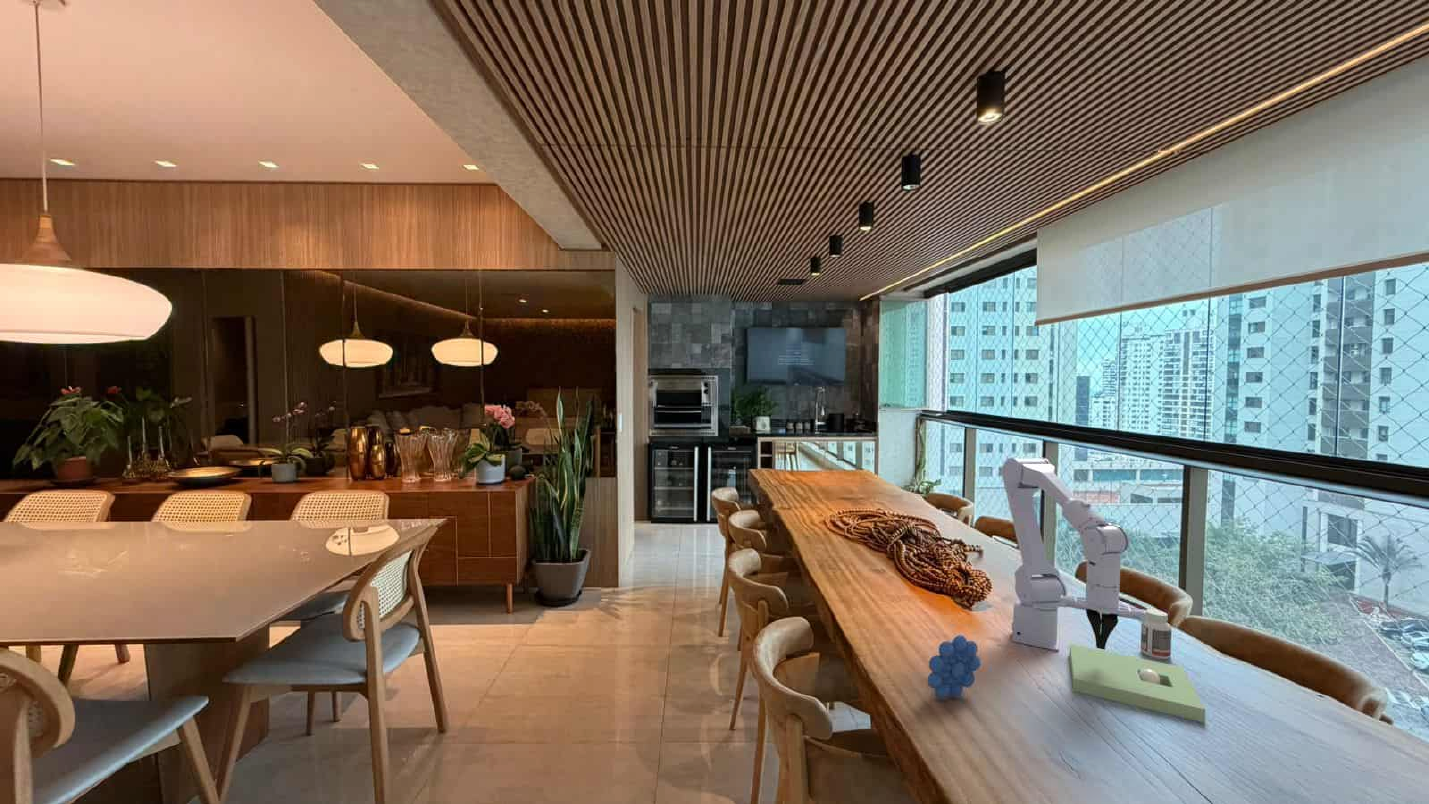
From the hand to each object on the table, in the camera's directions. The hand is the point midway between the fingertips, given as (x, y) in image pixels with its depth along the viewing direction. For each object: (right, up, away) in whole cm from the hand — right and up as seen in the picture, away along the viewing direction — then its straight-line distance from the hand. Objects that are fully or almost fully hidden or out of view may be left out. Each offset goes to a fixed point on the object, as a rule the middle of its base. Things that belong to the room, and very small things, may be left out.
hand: (1100, 647), depth 115 cm
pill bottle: (+20, -7, +11) cm, 24 cm away
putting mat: (+4, -7, -3) cm, 8 cm away
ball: (+7, -5, -4) cm, 10 cm away
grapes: (-35, -6, -7) cm, 36 cm away
